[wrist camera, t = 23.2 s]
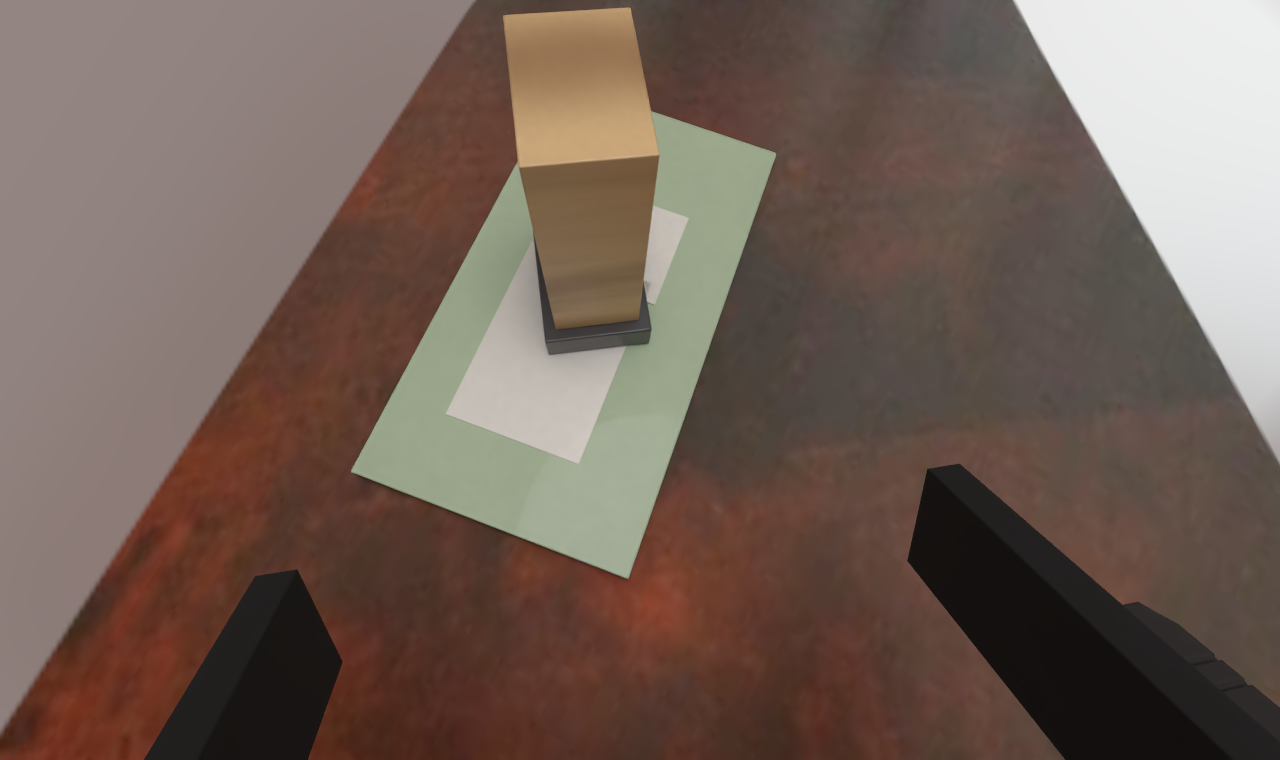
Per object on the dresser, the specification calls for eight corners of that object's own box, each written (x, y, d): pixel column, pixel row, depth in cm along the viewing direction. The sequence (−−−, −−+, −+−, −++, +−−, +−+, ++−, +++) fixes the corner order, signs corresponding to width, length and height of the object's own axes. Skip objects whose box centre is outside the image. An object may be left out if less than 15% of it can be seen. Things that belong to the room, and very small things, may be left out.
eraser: (649, 343, 24) (683, 169, 14) (548, 355, 24) (499, 186, 13) (629, 228, 26) (645, -8, 15) (535, 237, 26) (482, 2, 15)
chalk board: (627, 579, 22) (628, 579, 21) (356, 473, 23) (348, 471, 22) (773, 160, 29) (777, 151, 28) (561, 89, 29) (560, 79, 29)
